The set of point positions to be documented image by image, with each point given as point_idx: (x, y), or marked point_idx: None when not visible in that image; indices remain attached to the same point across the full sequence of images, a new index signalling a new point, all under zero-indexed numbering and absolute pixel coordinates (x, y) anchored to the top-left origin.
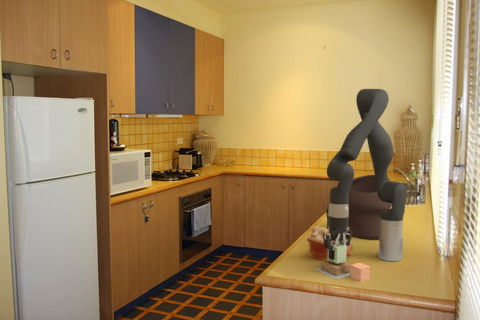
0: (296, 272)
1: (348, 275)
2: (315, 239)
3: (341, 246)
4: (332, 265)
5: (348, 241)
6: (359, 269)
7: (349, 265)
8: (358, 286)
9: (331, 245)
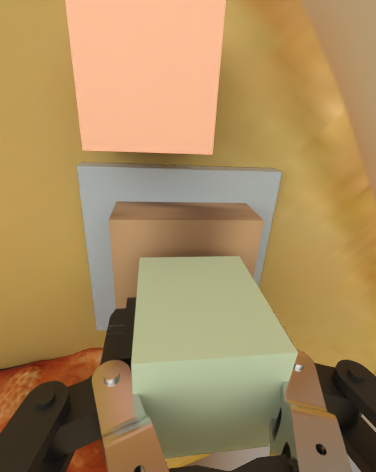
0: (302, 338)
1: (176, 172)
2: None
3: (204, 374)
4: None
5: (38, 445)
6: (220, 25)
7: (134, 219)
8: (231, 25)
9: (275, 422)
